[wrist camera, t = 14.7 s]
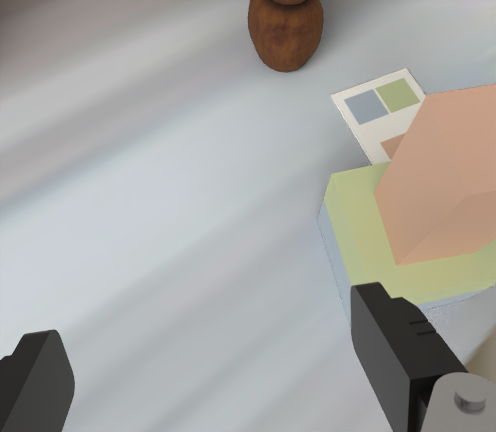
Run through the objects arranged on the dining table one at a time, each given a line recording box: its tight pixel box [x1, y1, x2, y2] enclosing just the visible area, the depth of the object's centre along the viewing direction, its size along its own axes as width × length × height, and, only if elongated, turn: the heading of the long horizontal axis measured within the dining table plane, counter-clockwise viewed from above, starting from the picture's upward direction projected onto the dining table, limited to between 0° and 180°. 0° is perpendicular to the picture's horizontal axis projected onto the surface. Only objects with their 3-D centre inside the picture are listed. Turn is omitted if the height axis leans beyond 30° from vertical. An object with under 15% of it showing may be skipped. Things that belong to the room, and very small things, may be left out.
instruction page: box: [331, 68, 426, 165], centre depth 40 cm, size 10×8×1 cm
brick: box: [374, 84, 496, 266], centre depth 23 cm, size 5×5×10 cm
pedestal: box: [317, 161, 496, 327], centre depth 32 cm, size 9×9×8 cm
